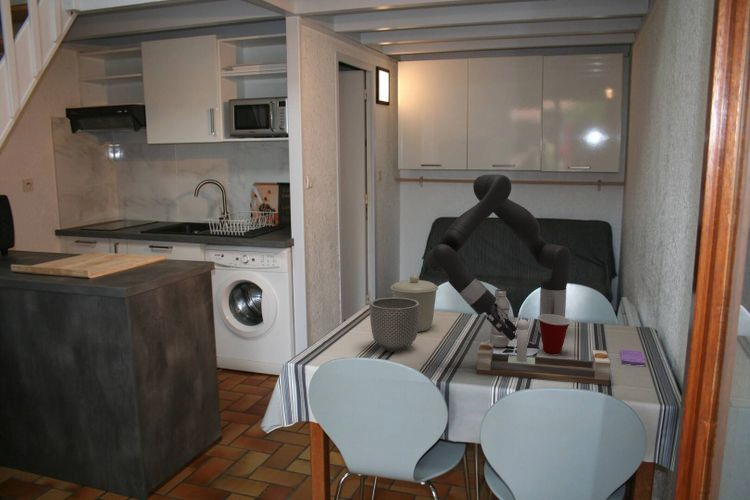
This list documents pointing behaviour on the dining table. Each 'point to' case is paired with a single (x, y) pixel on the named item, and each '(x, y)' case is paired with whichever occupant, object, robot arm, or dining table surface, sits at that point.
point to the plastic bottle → (499, 337)
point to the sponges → (632, 357)
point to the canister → (418, 298)
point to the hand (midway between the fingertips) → (514, 334)
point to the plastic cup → (553, 332)
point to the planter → (394, 322)
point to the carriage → (522, 345)
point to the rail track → (545, 367)
